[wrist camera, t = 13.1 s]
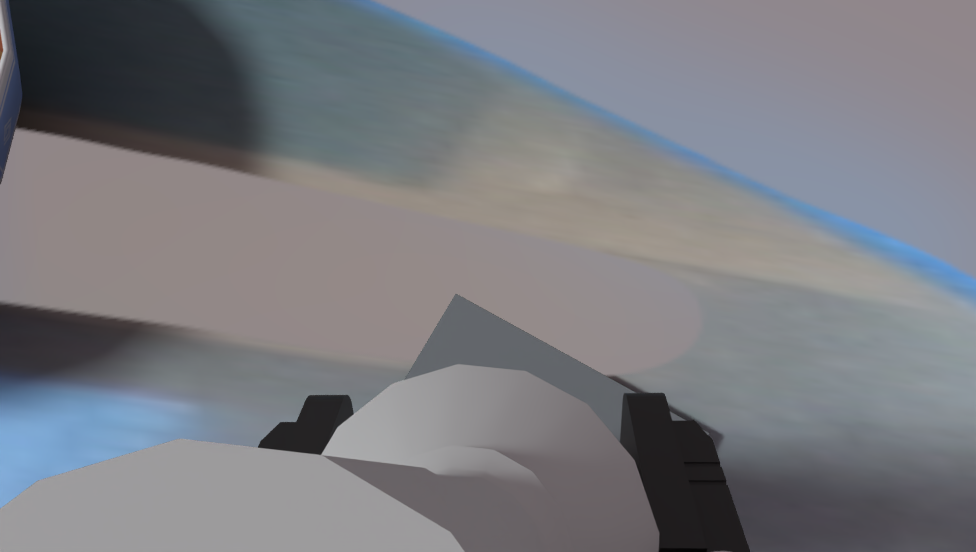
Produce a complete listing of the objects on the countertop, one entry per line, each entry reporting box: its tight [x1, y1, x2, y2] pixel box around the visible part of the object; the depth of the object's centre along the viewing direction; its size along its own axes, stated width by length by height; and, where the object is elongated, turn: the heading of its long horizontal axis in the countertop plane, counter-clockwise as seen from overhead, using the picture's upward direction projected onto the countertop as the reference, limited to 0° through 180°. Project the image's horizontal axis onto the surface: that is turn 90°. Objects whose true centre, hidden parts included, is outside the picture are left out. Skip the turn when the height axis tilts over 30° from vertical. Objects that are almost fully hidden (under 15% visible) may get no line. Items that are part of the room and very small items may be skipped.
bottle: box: [0, 364, 659, 552], centre depth 14 cm, size 5×5×25 cm
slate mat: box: [405, 294, 710, 442], centre depth 29 cm, size 12×12×1 cm
